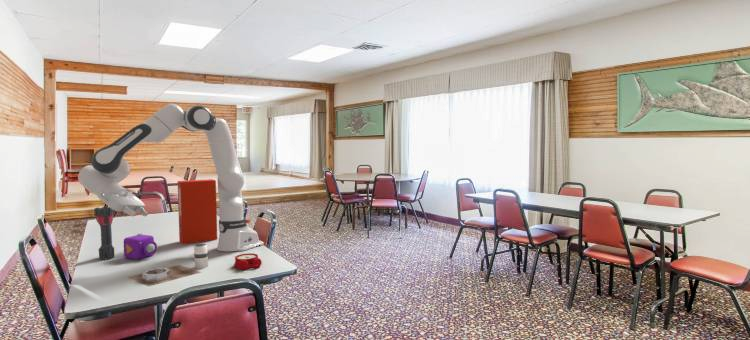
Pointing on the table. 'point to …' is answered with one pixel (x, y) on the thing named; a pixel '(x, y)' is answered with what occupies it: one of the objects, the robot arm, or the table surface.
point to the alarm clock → (247, 261)
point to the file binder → (197, 210)
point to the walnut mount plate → (175, 273)
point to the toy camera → (139, 246)
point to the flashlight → (105, 231)
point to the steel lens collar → (156, 274)
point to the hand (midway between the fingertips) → (140, 215)
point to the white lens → (200, 256)
